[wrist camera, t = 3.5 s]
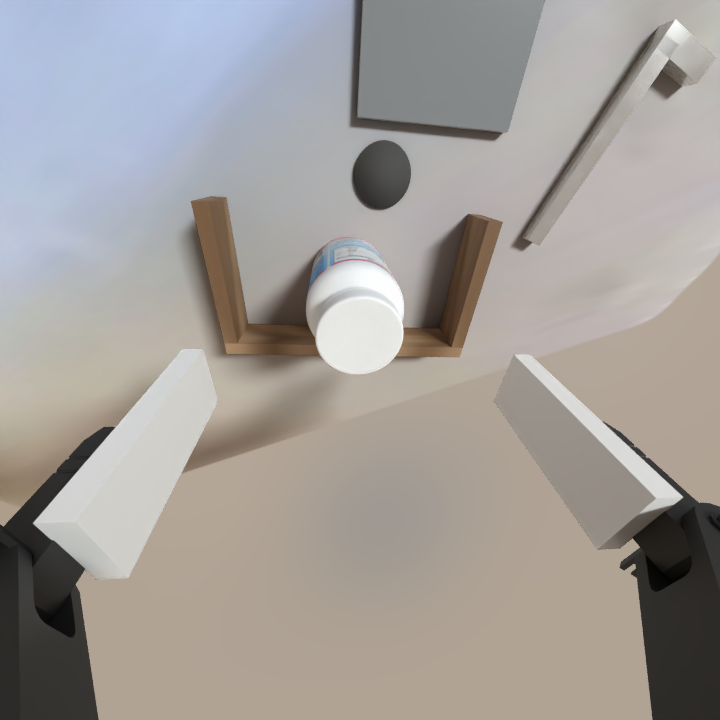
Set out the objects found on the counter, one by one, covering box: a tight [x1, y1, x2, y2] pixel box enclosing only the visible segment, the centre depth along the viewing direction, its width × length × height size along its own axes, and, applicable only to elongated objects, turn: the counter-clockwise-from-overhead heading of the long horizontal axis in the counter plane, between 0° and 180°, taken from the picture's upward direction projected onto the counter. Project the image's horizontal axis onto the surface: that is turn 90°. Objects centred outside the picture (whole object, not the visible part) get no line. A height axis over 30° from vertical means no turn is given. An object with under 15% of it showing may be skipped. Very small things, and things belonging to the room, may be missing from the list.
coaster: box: [357, 0, 545, 133], centre depth 16 cm, size 10×10×1 cm
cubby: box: [191, 196, 503, 357], centre depth 22 cm, size 20×11×4 cm, turn 86°
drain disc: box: [354, 140, 411, 208], centre depth 20 cm, size 4×4×1 cm
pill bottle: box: [306, 236, 404, 375], centre depth 19 cm, size 6×6×11 cm
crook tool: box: [521, 19, 716, 245], centre depth 20 cm, size 4×13×1 cm, turn 159°
